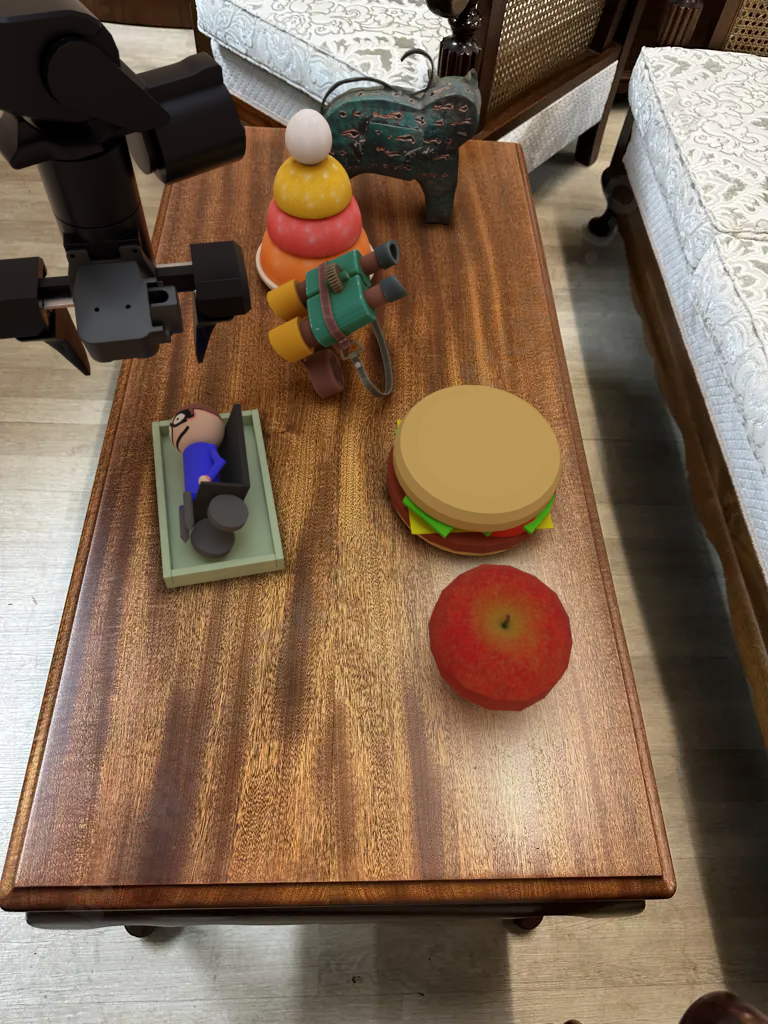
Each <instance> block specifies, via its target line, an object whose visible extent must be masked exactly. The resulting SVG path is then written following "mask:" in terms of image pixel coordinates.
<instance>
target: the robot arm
mask: <svg viewBox="0 0 768 1024" xmlns="http://www.w3.org/2000/svg"><path fill="white" fill-rule="evenodd" d="M0 112H2V114H1V115H0V155H1V156H2V157H3V159H4V160H5V161H6V162H7V164H8V165H9V166H10V167H11V168H12V169H13V170H15V171H18V170H23V169H26V168H29V167H32V166H35V165H36V169H37V172H38V174H39V177H40V181H41V183H42V185H43V188H44V191H45V194H46V196H47V200H48V202H49V205H50V208H51V211H52V213H53V216H54V219H55V222H56V225H57V228H58V230H59V233H60V236H61V239H62V246H63V249H64V251H65V257H66V260H67V262H68V265H67V275H59V276H48V268H47V266H46V264H45V261H44V258H42V256H41V257H40V256H37V255H36V256H26V257H25V256H24V257H15V258H2V259H1V258H0V340H7V339H15V341H18V342H20V343H29V342H32V343H33V342H43V343H45V344H46V345H48V346H49V347H50V348H52V349H54V350H55V351H57V352H58V353H59V354H60V355H61V356H62V357H64V358H65V360H66V361H68V362H69V363H70V364H72V366H74V367H75V368H76V369H77V370H78V371H79V372H80V373H81V374H83V375H84V376H85V377H89V376H91V375H92V373H91V365H90V360H89V356H90V358H91V359H92V360H94V361H95V362H97V363H101V364H106V363H108V364H109V363H112V362H114V361H124V360H132V359H140V360H143V359H149V358H152V357H154V356H155V355H156V354H158V352H159V350H160V345H162V344H171V343H172V336H173V335H177V334H183V332H184V322H183V317H182V315H183V314H182V310H181V309H182V308H181V302H180V297H179V293H189V292H191V302H192V304H191V305H192V324H193V325H192V328H193V343H194V344H193V345H194V351H195V357H196V362H197V364H203V363H204V361H205V360H204V359H205V357H206V352H207V349H208V346H209V342H210V340H211V336H212V333H213V332H214V330H215V327H216V326H217V324H221V323H227V322H231V321H233V320H234V319H235V317H236V316H245V315H247V314H248V313H249V312H250V311H251V310H252V301H251V291H250V285H249V278H248V273H247V272H248V271H247V267H246V262H245V257H244V252H243V248H242V246H241V245H239V243H238V242H236V241H235V240H234V239H232V240H221V241H209V242H195V243H189V250H190V259H191V260H190V261H182V262H169V263H158V264H157V262H156V259H155V254H154V250H153V245H152V241H151V237H150V232H149V229H148V224H147V220H146V216H145V211H144V208H143V204H142V199H141V194H140V191H139V186H138V182H137V178H136V174H135V170H134V165H133V161H134V163H135V164H136V166H137V167H138V169H139V170H140V171H141V172H142V173H143V174H145V175H151V174H154V175H155V176H156V178H157V179H158V180H159V181H160V182H161V183H163V185H165V186H171V185H174V184H177V183H179V182H182V181H185V180H188V179H192V178H194V177H196V176H200V175H202V174H206V173H209V172H211V171H215V170H217V169H220V168H222V167H226V166H228V165H231V164H234V163H237V162H239V161H241V160H243V159H244V157H245V155H246V151H247V133H246V128H245V126H244V124H243V123H242V121H241V119H240V115H239V111H238V109H237V106H236V104H235V100H234V99H233V97H232V94H231V92H230V91H229V89H228V88H227V85H226V84H225V83H224V73H223V66H222V65H221V64H220V63H218V61H217V60H215V59H214V58H213V57H211V55H209V54H208V53H207V52H205V51H201V52H197V53H194V54H191V55H188V56H186V57H184V58H183V59H181V60H179V61H177V62H174V63H171V64H167V65H163V66H159V67H156V68H152V69H149V70H145V71H142V72H139V73H136V72H135V71H134V70H133V69H131V68H130V66H128V65H127V63H125V62H124V61H123V60H122V59H121V56H120V50H119V48H118V46H117V44H116V41H115V39H114V37H113V34H112V33H111V32H110V31H109V30H108V28H107V27H106V26H105V24H104V23H103V22H102V21H101V20H100V19H99V18H98V17H97V16H96V15H95V14H94V13H93V12H91V11H90V10H89V8H87V7H86V6H85V4H83V3H82V2H81V1H80V0H0ZM132 159H133V160H132ZM69 308H74V317H75V323H74V321H73V318H72V316H71V314H70V311H69ZM75 324H76V325H75ZM87 352H88V354H87ZM88 355H89V356H88Z"/></svg>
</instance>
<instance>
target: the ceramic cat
mask: <svg viewBox="0 0 768 1024" xmlns="http://www.w3.org/2000/svg"><path fill="white" fill-rule="evenodd" d="M412 55H421V56H424V57H425V58H426V59H427V60H428V61H429V63H430V65H431V67H430V68H427V78H428V82H427V84H426V87H425V88H422V89H420V90H419V89H418V90H415V91H414V90H411V89H408V88H407V87H404V86H401V85H397V84H396V85H395V84H389V83H387V82H385V81H383V80H381V79H378V78H376V77H373V76H354V77H348V78H344V79H340V80H338V81H336V82H335V83H333V84H332V85H331V86H330V87H329V88H328V89H327V91H326V92H325V94H324V96H323V98H322V100H321V104H320V106H319V112H318V113H320V114H321V115H322V116H323V117H324V118H325V120H326V121H327V123H328V125H329V127H330V130H331V134H332V146H331V150H330V152H329V154H328V155H330V156H332V157H333V158H335V159H336V160H337V161H338V162H339V163H340V164H341V165H342V166H343V168H344V169H345V171H346V173H347V175H348V177H349V180H350V181H351V179H353V178H355V177H357V176H359V175H363V174H375V175H379V176H384V177H389V178H392V179H397V180H402V181H406V182H412V181H416V182H417V183H418V185H419V186H420V188H421V190H422V194H423V196H424V204H425V207H424V208H425V209H424V217H425V221H424V223H425V224H444V225H449V224H450V223H451V217H452V213H453V210H454V206H455V205H454V203H455V196H456V190H457V187H458V181H459V168H460V167H459V166H460V148H461V147H462V146H463V145H464V144H466V143H467V142H469V140H471V139H472V138H473V137H474V136H475V134H476V132H477V130H478V127H479V124H480V115H481V108H482V94H481V91H480V88H479V80H478V72H477V71H476V70H475V68H474V67H473V68H471V69H470V70H469V71H468V72H467V74H465V76H458V75H451V76H443V77H440V76H439V75H438V74H436V72H435V71H434V70H435V68H434V67H435V65H434V61H433V58H432V56H431V55H430V54H429V53H428V52H426V50H424V49H422V48H420V47H419V48H418V47H417V48H416V47H415V48H414V47H413V48H410V49H407V50H406V51H405V52H404V53H403V54H402V56H401V57H400V59H399V61H400V62H401V63H403V61H405V60H406V59H407V58H408V57H410V56H412ZM357 82H373V83H376V84H379V85H375V86H365V87H364V86H361V87H359V86H358V87H351V88H349V89H347V90H346V91H344V92H342V93H340V94H338V95H335V96H334V97H333V98H332V99H331V100H330V101H329V102H328V103H327V104H326V105H325V103H326V101H327V99H328V97H329V96H330V95H331V94H332V93H333V92H334V91H335V90H336V89H337V88H339V87H341V86H343V85H345V84H349V83H357Z"/></svg>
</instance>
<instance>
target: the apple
mask: <svg viewBox="0 0 768 1024" xmlns="http://www.w3.org/2000/svg"><path fill="white" fill-rule="evenodd" d="M427 626H428V637H429V638H428V639H429V650H430V653H431V655H432V657H433V660H434V662H435V665H436V667H437V669H438V672H439V675H440V676H441V678H442V679H443V680H444V682H445V683H446V684H447V685H448V686H449V687H450V688H452V690H454V691H455V693H457V694H458V696H459V697H461V698H462V699H464V700H466V701H467V702H470V703H472V704H474V705H476V706H478V707H480V708H483V709H484V710H487V711H491V712H493V711H494V712H495V711H496V712H522V711H524V710H526V709H527V708H529V707H531V706H533V705H535V704H537V703H538V702H540V701H542V700H544V699H546V697H547V696H548V694H550V693H551V691H552V690H553V689H554V688H555V686H556V685H557V684H558V683H559V681H560V680H561V679H562V678H563V676H564V675H565V673H566V672H567V670H568V668H569V665H570V659H571V655H572V650H573V649H572V648H573V644H574V642H573V636H572V630H571V629H572V628H571V621H570V616H569V614H568V612H567V611H566V609H565V606H564V604H563V602H562V601H561V599H560V597H559V595H558V594H557V592H555V591H554V590H553V589H552V588H551V587H549V586H548V585H547V584H545V583H544V582H543V581H542V580H541V579H539V578H538V577H537V576H536V575H534V574H531V573H529V572H527V571H524V570H522V569H520V568H517V567H515V566H512V565H509V564H495V563H494V564H493V563H492V564H491V563H482V564H481V563H480V564H479V565H477V566H475V567H471V569H468V570H466V571H464V572H461V573H459V574H458V575H457V576H456V577H454V579H453V580H452V581H450V582H449V583H448V584H447V586H445V587H444V588H443V589H442V590H441V592H440V594H439V596H438V599H437V600H436V603H435V605H434V607H433V609H432V612H431V615H430V618H429V620H428V625H427Z"/></svg>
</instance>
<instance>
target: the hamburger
mask: <svg viewBox="0 0 768 1024" xmlns="http://www.w3.org/2000/svg"><path fill="white" fill-rule="evenodd" d="M396 423H397V424H396V425H397V427H396V429H395V431H394V433H393V435H394V442H393V444H392V446H391V448H390V451H389V452H388V458H387V469H386V479H385V484H386V487H387V490H388V494H389V497H390V500H391V504H392V506H393V507H394V509H395V511H396V513H397V514H398V516H399V518H400V519H401V520H402V521H403V523H404V524H405V525H406V527H408V529H409V530H410V533H411V535H416V536H418V538H420V539H422V540H424V541H425V542H426V543H428V544H430V545H431V546H434V547H436V548H438V549H440V550H443V551H445V552H449V553H452V554H456V555H462V556H480V557H482V556H490V555H495V554H499V553H503V552H506V551H507V550H510V549H513V548H515V547H517V546H518V545H520V544H521V543H523V542H525V541H527V540H528V539H531V538H532V537H533V536H534V534H535V533H536V532H537V531H538V530H552V529H553V530H554V528H555V527H554V524H553V518H552V516H551V509H552V507H553V503H554V501H555V498H556V494H557V489H558V486H559V483H560V481H561V478H562V477H561V476H562V472H563V458H562V457H563V456H562V451H561V448H560V445H559V442H558V439H557V436H556V434H555V431H554V430H553V428H552V427H551V424H550V423H549V422H548V421H547V420H546V418H545V417H544V416H543V414H541V413H540V412H539V410H537V408H535V407H534V406H533V405H531V404H530V403H528V401H526V400H524V399H522V398H521V397H519V396H517V395H516V394H513V393H510V392H508V391H506V390H503V389H500V388H496V387H493V386H486V385H481V384H462V385H453V386H449V387H448V386H447V387H445V388H442V389H438V390H436V391H434V392H432V393H429V394H428V395H426V396H424V397H423V398H422V399H420V400H419V401H418V402H417V403H416V404H414V405H413V406H412V407H411V408H410V409H409V410H408V411H407V412H406V413H405V414H404V416H403V417H402V419H401V418H400V419H396Z"/></svg>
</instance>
